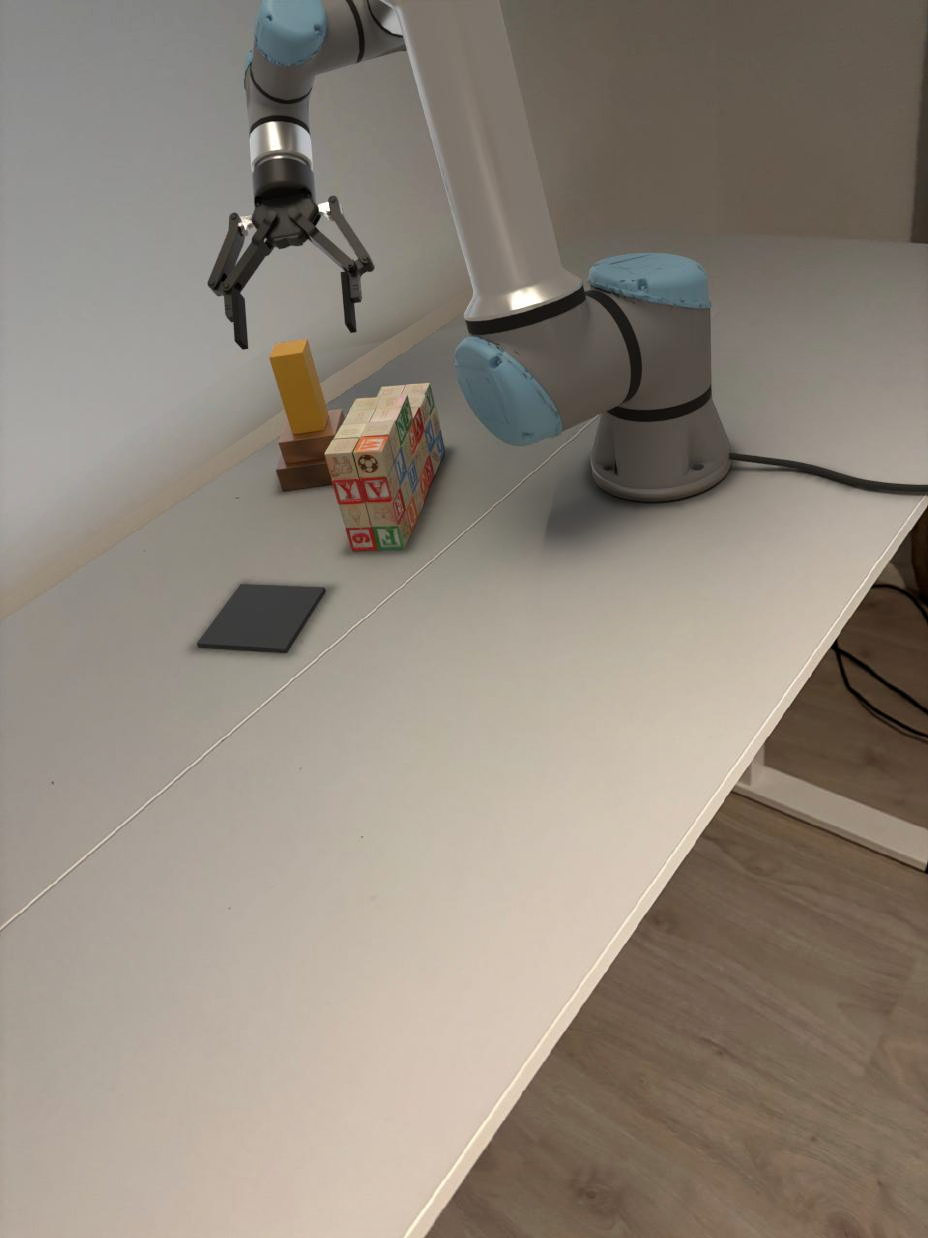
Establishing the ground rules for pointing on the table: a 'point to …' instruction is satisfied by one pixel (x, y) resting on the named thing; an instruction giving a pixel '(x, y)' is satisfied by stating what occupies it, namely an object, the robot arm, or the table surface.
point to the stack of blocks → (385, 464)
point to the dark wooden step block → (307, 455)
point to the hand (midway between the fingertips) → (295, 336)
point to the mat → (262, 618)
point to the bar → (299, 386)
